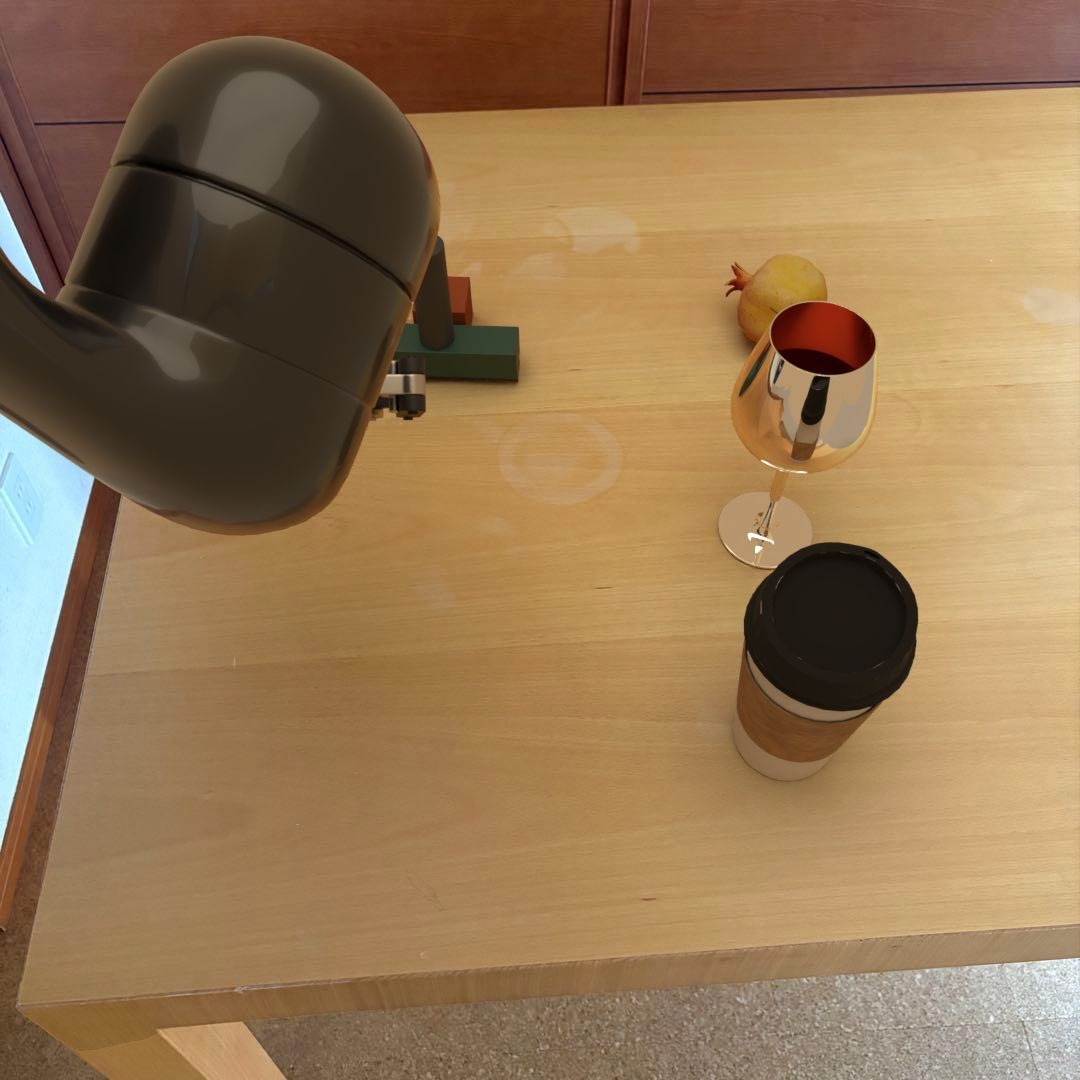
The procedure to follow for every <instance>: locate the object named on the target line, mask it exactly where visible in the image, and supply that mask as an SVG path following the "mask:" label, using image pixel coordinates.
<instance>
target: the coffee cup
mask: <svg viewBox="0 0 1080 1080" xmlns="http://www.w3.org/2000/svg"><path fill="white" fill-rule="evenodd" d="M918 626H919V605H918V602H917V597H916V595H915V592H914V590H913V588H912V587H911V584H910V583H909V581H908V580H907V578H906V577H905V575H903V573H902V572H901V571H900V570H899V569H898V568H897V567H896V566H895V565H894V564H893V563H892V562H891V561H889V559H887V558H886V557H885V556H884V555H882V553H880V552H879V551H877V550H875V549H872V548H869V547H866V546H862V545H859V544H853V543H848V542H847V543H846V542H840V541H824V542H818V543H817V542H816V543H811V545H810V546H807V547H804V548H801V549H800V550H798V551H796V552H794V553H793V554H791V555H789V556H788V557H787V558H786V559H785V560H784V561H782V562H781V563H780V564H779V565H778V566H777V567H776V569H773V571H772V572H771V573H769V574H768V575H767V576H766V577H765V578H763V580H762V581H761V582H760V583H759V585H758V586H757V587H756V588H755V590H754V591H753V593H752V595H751V596H750V598H749V601H748V603H747V605H746V607H745V612H744V617H743V637H744V638H743V642H742V652H741V660H740V669H739V677H738V685H737V693H736V704H735V711H734V715H733V723H732V735H733V740H734V744H735V747H736V748H737V751H738V752H739V754H740V756H741V757H742V758H743V760H744V761H745V763H747V764H748V765H749V766H750V767H751V768H752V769H753V770H754V771H756V772H757V773H758V774H761V775H763V776H765V777H767V778H770V779H773V780H777V781H782V782H783V781H784V782H795V781H801V780H804V779H808V778H810V777H811V776H813V775H815V774H816V773H817V772H819V771H820V770H821V769H822V768H823V767H824V766H825V765H826V764H827V763H828V762H829V761H830V759H831V758H832V757H833V756H834V754H835V753H836V752H837V751H838V750H839V749H840V748H841V747H842V746H844V744H845V743H846V742H847V741H848V740H849V739H850V738H851V737H852V736H853V734H855V733H856V731H857V730H858V729H859V728H860V727H861V726H862V725H863V724H864V723H865V722H866V721H867V720H868V718H870V716H871V715H872V714H873V713H874V712H875V711H876V710H877V709H878V708H879V707H880V706H881V705H882V703H883V702H884V701H886V700H888V699H890V697H892V696H893V695H894V694H895V693H896V692H898V691H899V690H900V688H901V687H902V686H903V684H904V683H905V682H906V680H907V679H908V677H909V676H910V672H911V669H912V667H913V664H914V660H915V658H916V649H917V642H918V639H917V634H918Z"/></svg>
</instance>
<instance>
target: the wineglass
mask: <svg viewBox="0 0 1080 1080" xmlns="http://www.w3.org/2000/svg"><path fill="white" fill-rule="evenodd" d="M878 367H879V366H878V339H877V335H876V332H875V330H874V328H873V327H872V325H871V323H869V321H868V320H867V319H865V318H864V317H863V316H862V314H859V313H858V312H857V311H855V310H854V309H851V308H849V307H847V306H845V305H842V304H839V303H835V302H831V301H827V302H826V301H805V302H800V303H796V304H793V305H790V306H788V307H786V308H785V309H783V310H782V311H780V312H779V313H778V314H777V315H776V316H775V317H774V319H773V320H772V322H771V323H770V325H769V326H768V328H767V329H766V331H765V332H764V334H763V336H762V337H761V339H760V340H759V342H758V343H756V345H755V346H754V348H753V350H752V351H751V353H750V354H749V356H748V358H747V359H746V360H745V362H744V365H743V366H742V368H741V369H740V372H739V374H738V376H737V379H736V381H735V382H734V386H733V389H732V393H731V397H730V398H731V399H730V416H731V421H732V425H733V428H734V431H735V433H736V435H737V436H738V439H739V440H740V442H741V443H742V445H743V446H744V447H745V448H746V450H747V451H748V452H749V453H750V454H751V455H752V456H753V457H754V458H756V459H757V460H758V461H759V462H761V463H762V464H763V465H766V466H768V467H769V468H771V469H773V470H775V473H774V476H773V481H772V484H771V488H770V491H761V490H760V491H759V490H758V491H750V492H746V493H742V494H740V495H737V496H736V497H734V498H732V499H731V500H730V501H728V503H726V505H725V506H724V507H723V508H722V510H721V512H720V514H719V518H718V522H717V531H718V536H719V538H720V541H721V543H722V544H723V547H725V549H726V550H727V552H728V553H729V554H731V556H733V557H734V558H735V559H737V560H738V561H740V562H741V563H743V564H746V565H747V566H750V567H754V568H756V569H757V568H758V569H764V570H775V569H776V567H777V566H778V565H779V564H780V563H781V562H782V561H784V560H785V559H786V558H787V557H788V556H789V555H791V554H793V553H794V552H796V551H798V550H800V549H801V548H804V547H807V546H810V545H812V541H813V535H814V533H813V526H812V523H811V520H810V518H809V516H808V515H807V513H806V512H805V510H804V509H803V508H801V507H800V506H799V505H798V504H797V503H796V502H794V501H793V500H792V499H790V498H788V497H787V496H784V495H783V494H784V490H785V486H786V483H787V480H788V477H789V474H794V475H811V474H817V473H822V472H825V471H829V470H831V469H834V468H836V467H838V466H840V465H841V464H843V463H845V462H846V461H848V460H849V459H850V458H852V457H853V456H854V455H856V454H857V452H858V451H859V450H860V449H861V448H862V447H863V446H864V444H865V443H866V441H867V439H868V437H869V436H870V433H871V431H872V430H873V429H872V428H873V426H874V423H875V419H876V413H877V406H878V405H877V403H878V386H879V385H878V379H879V374H878V373H879V372H878Z"/></svg>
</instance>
